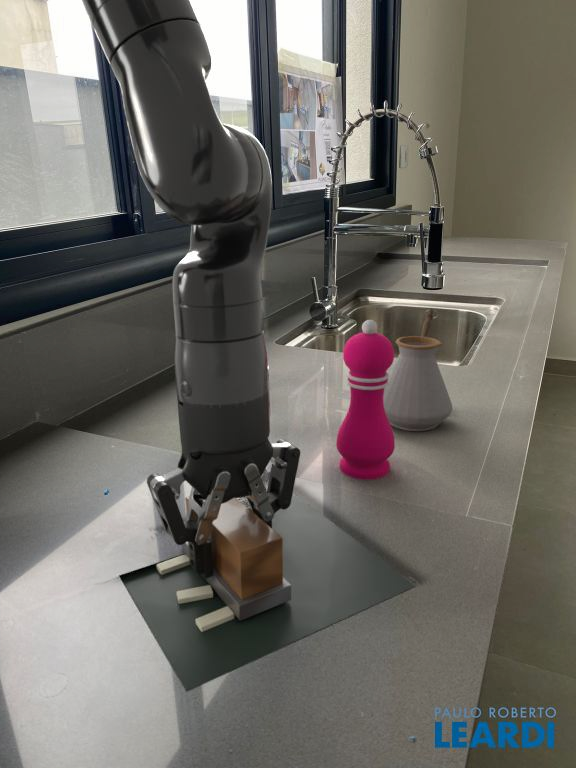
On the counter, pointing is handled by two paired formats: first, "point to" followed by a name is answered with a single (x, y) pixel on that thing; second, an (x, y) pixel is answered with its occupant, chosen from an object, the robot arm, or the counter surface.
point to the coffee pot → (417, 384)
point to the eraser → (245, 561)
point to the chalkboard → (278, 624)
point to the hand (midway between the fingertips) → (232, 562)
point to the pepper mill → (366, 406)
